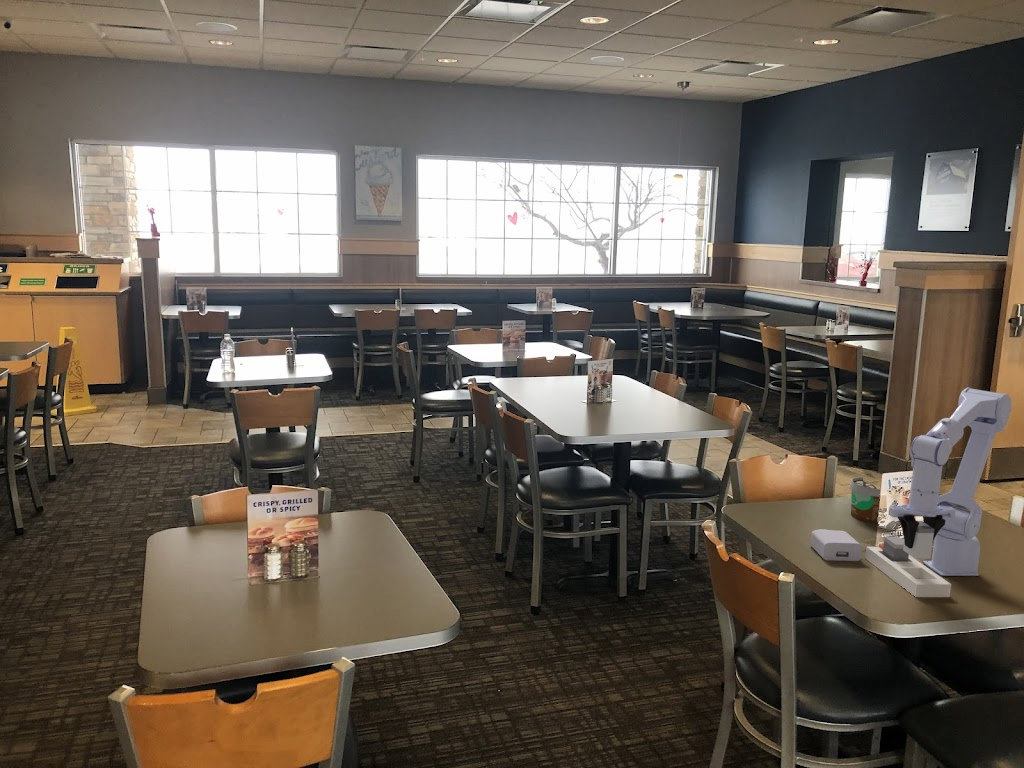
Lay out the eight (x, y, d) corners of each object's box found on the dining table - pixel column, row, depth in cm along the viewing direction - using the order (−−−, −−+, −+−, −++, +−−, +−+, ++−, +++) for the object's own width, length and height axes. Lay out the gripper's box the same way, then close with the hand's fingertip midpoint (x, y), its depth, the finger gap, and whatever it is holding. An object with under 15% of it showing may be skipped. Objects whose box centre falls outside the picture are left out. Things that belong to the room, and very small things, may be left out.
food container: (838, 509, 241) (841, 476, 239) (858, 509, 241) (862, 476, 240) (860, 524, 229) (864, 489, 227) (881, 524, 229) (885, 489, 227)
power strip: (896, 558, 205) (897, 543, 204) (949, 597, 184) (951, 581, 183) (865, 558, 204) (866, 543, 204) (915, 597, 183) (917, 581, 182)
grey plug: (917, 549, 190) (921, 521, 189) (930, 558, 185) (934, 528, 184) (902, 549, 190) (906, 520, 189) (915, 558, 185) (918, 528, 184)
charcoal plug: (895, 564, 201) (898, 536, 200) (906, 572, 197) (910, 544, 195) (880, 564, 201) (884, 536, 200) (892, 572, 196) (895, 544, 195)
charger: (836, 539, 217) (860, 561, 202) (801, 538, 217) (822, 560, 202) (838, 522, 216) (862, 543, 202) (802, 521, 216) (824, 542, 201)
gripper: (903, 494, 180) (896, 553, 183) (966, 495, 182) (958, 553, 184) (886, 484, 187) (879, 541, 190) (947, 485, 188) (940, 541, 191)
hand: (917, 546), depth 187 cm, fingers closed on grey plug, 4 cm apart
